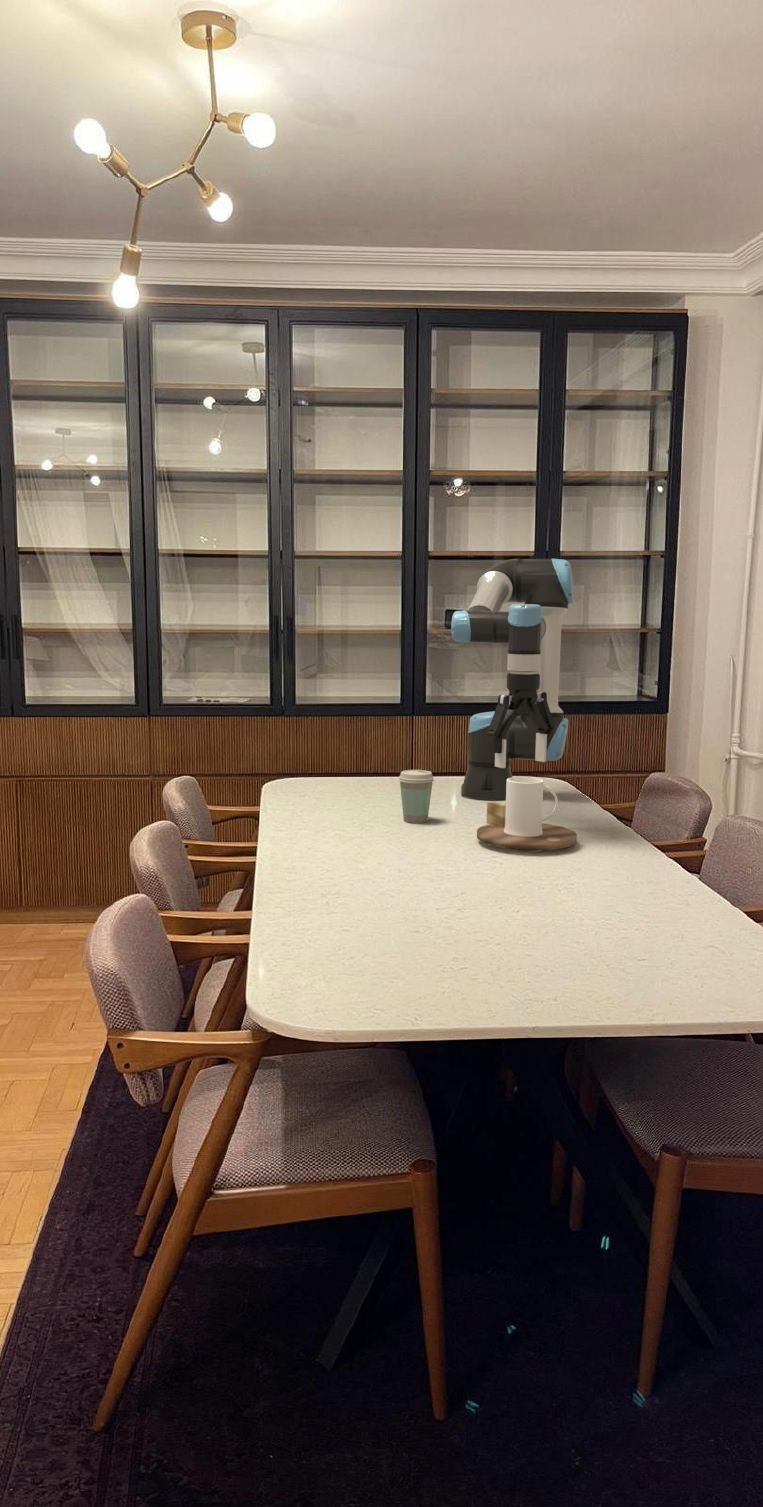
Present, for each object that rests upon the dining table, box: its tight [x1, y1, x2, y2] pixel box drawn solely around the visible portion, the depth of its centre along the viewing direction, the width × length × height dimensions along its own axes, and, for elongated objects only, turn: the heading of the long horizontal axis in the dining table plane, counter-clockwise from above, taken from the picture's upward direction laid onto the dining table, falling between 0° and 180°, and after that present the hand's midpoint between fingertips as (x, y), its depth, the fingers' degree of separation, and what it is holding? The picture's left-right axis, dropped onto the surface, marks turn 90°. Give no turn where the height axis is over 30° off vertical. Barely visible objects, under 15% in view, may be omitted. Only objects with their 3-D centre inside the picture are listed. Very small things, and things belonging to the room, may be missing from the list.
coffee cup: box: [398, 769, 435, 824], centre depth 253 cm, size 8×8×12 cm
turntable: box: [476, 800, 578, 851], centre depth 231 cm, size 23×22×6 cm
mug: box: [504, 776, 559, 837], centre depth 230 cm, size 12×8×12 cm
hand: (520, 764), depth 240 cm, fingers open, 13 cm apart
